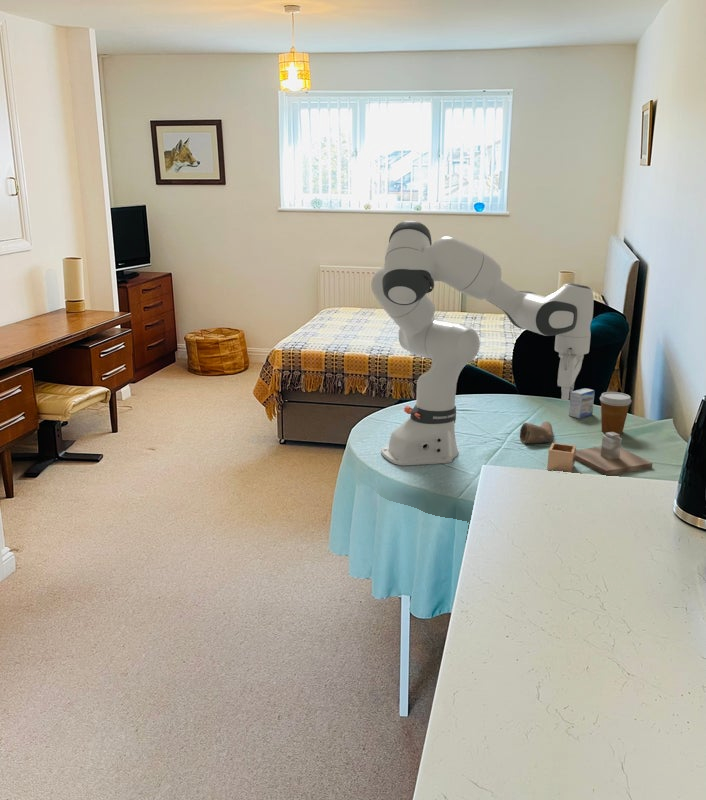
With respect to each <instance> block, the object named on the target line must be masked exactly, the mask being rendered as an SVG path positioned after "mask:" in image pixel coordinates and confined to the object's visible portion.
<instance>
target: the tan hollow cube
mask: <svg viewBox="0 0 706 800" xmlns="http://www.w3.org/2000/svg"><path fill="white" fill-rule="evenodd" d="M576 450H577V445H572V444H564V443H556V442H552V443H551V445H550V446H549V449H548V455H547V467H546V470H553V471H563V472H572V473H573V471H574V467H575V463H576V460H575V454H576ZM553 471H552V472H553Z"/></svg>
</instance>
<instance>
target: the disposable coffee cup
mask: <svg viewBox="0 0 706 800" xmlns="http://www.w3.org/2000/svg"><path fill="white" fill-rule="evenodd" d="M631 398H632V397H631V396H630V395H629V394H626V393H623V392H618V391H617V392H616V391H607V392H606V391H605V392H602V393H601V395H600V397H599V401H600V410H601V411H600V413H601V414H600V415H601V417H600V418H601V420H600V421H601V432H602V433H604V434H606V433H608V432H615V433H617V434H619V435H622V434H623V433H624V432H623V431H624V427H625V423H626V419H627V415H628V411H629V409H630V405H631V403H632V399H631Z"/></svg>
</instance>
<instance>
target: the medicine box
mask: <svg viewBox="0 0 706 800" xmlns="http://www.w3.org/2000/svg"><path fill="white" fill-rule="evenodd" d="M594 401H595V390H594V389H591V388H585V387H584V388H580V389H576V390H573V391H572V392H570V391H569V404H568V405H569V406H568V416H569V417H571V418H575V419H583V418H585V417H588V416H591V415H593V411H594Z"/></svg>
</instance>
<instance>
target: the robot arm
mask: <svg viewBox="0 0 706 800" xmlns="http://www.w3.org/2000/svg"><path fill="white" fill-rule="evenodd" d="M435 282H442V283H444V284H446V285H448V286H449V287H451V288H453V289H454V290H456V291H458V292H460V293H461V294H464V295H466V296H468V297H470V298H472V299H473V298H474V299H477V300H480V301H481V300H486V301H487V302H489V303H491V304H492V305H493V306H495V307H496V308H499V309H500V310H502V311H503V312H504V314H505V315H506V317H507V318H508V320H509V322H510V323H511V324H513V326H515V327H516V328H518V329H522V330H527V331H530V332H532V333H536V334H538V335H542V336H546V337H553V336H555V338H554V339H555V340H554V351H555V352H557V353H558V357H559V359H560V360H559V365H558V371H557V387H561V390H560V391H561V397H560V398H561V400H562V401H567V402H568V401H569V400H570V392H573V391H574V389H575V382H576V379H577V377H578V375H579V374H580V372H581V369H582V364H583V360H584V358H585V357H584V356H585V355H587V354H589V352H590V346H591V337H592V336H591V335H592V334H591V333H592V332H591V323H592V321H593V317H594V304H595V303H594V301H595V299H594V293H593V290H592V288H590V287H589V286H587V285H584V284H583V285H582V284H580V283H572V282H566V283H563V284H562V286H561V287H560V288H559V289H558V290H556V291H555V292H552V293H551V294H549V295H546V296H544V295H541V294H538V293H536V292H534V291H533V292H532V291H529V290H518V289H516V288H514V287H512V286H510V285H509V284H508V283H506V282H504V281H503V280H502V268H501V265H500V264H499V263H498V262H497V261H496V260H495V259H494V258H493V257H491V256H490V255H489V254H487V253H486V252H485V251H483V250H481V249H480V248H478V247H476V246H474V245H472V244H470V243H468V242H465V241H464V240H462V239H458V238H456V237H452V236H448V235H447V236H445V235H444V236H442V237H440V238H438V239H436V240H435V241H434V242H433V244H432V235H431V232H430V230H429V228H428V227H427V226H426V225H425V224H423V223H422V222H419V221H415V220H404V221H402V222H400V223H398V224H396V225H395V227H394V228H393V229H392V231H391V233H390V235H389V239H388V245H387V248H386V252H385V257H384V266H383V267H381V268H379V269H378V270H377V271H376V272H375V273H374V275H373V277H372V279H371V291H372V293H373V294H374V296H375V299H376V300H377V301H378V303H379V304H380V306H381V307H382V308H383V310H384V311H385V313H387V315H388V316H389V317H390V319H392V320H393V321H394V323H395V324H396V325H397V326H398V327H399V331H398V341H399V345H400V346H401V347H402V349H404V350H406V351H407V352H409V353H411V354H413V355H416V356H419V357H423V358H428V359H431V364H430V368H429V370H428V371H426V372H423V373H422V374H421V375H420V376H418V378H417V381H416V401H415V402H416V403H415V404H414V406H413V408H412V407H410V406H409V405H406V406H404V408H403V411H404V412H405V413H406V414H407V415H410V418H408V419H407V420H406V421H404V422H403V423H402V424H401V425H399V427H397V428H395V429H394V430H393V431H392V432H391V434H390V437H389V442H388V443H389V444H388V445H386V446H383V447H381V451H380V452H381V455H382V456H383V458H384V459H386V460H387V461H389V462H391V463H392V464H395V465H399V466H417V465H435V464H451V463H452V462H453V459H454V458H456V457H457V456H458V455H459V451H458V450H459V449H458V446H457V439H456V430H455V429H456V428H455V424H456V420H457V419H456V418H457V405H456V393H457V383H458V379H459V376H460V374H461V372H462V370H463V369H464V367H465V366H466V365H467V364H469V363H470V362H472V361H473V360H474V359H475V357H477V355H478V352H479V350H480V346H481V345H480V344H481V343H480V338H479V334H478V333H477V331H476V330H475V329H473V328H470V327H469V326H466V325H465V324H462V323H457V322H452V321H446V320H443V319H442V320H441V319H438V318H437V317H435V311H436V308H435V304H434V301H433V300H432V299H431V298H430V297H429V295H428V294H429V293H431V292H432V291H433V290H434V288H435Z"/></svg>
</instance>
